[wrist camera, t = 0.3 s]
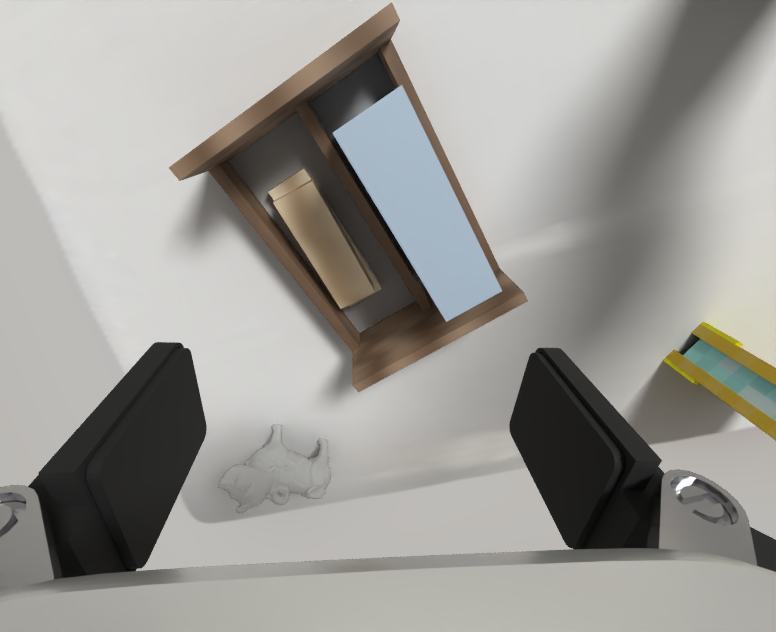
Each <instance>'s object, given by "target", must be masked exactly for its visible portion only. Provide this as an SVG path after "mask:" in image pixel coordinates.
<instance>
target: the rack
mask: <svg viewBox="0 0 776 632" xmlns="http://www.w3.org/2000/svg"><path fill="white" fill-rule="evenodd" d="M399 21H400V19H399V17H398V15H397V13H396V10H395V8H394V6H393V4H392V3H390V4H389V5H388V6H386V7H385V8H384V9H382V10H381V11H379V12H378V13H377V14H375V15H374V16H373V17H371V18H370V19H369V20H367V21H366V22H365V23H363V24H362V25H361V26H359V27H358V28H357V29H355V30H354V31H353V32H351V33H350V34H348V35H347V36H346V37H344V38H343V39H342V40H340V41H339V42H338V43H336V44H335V45H334V46H332V47H331V48H330V49H328V50H327V51H326V52H324V53H323V54H321V55H320V56H319V57H317V58H316V59H315V60H313V61H312V62H311V63H309V64H308V65H307V66H305V67H304V68H303V69H301V70H300V71H299V72H297V73H296V74H295V75H293V76H292V77H290V78H289V79H288V80H286V81H285V82H284V83H282V84H281V85H280V86H278V87H277V88H276V89H274V90H273V91H272V92H270V93H269V94H268V95H266V96H265V97H264V98H262V99H261V100H259V101H258V102H257V103H255V104H254V105H253V106H251V107H250V108H249V109H247V110H246V111H245V112H243V113H242V114H241V115H239V116H238V117H237V118H235V119H234V120H232V121H231V122H230V123H228V124H227V125H226V126H224V127H223V128H222V129H220V130H219V131H218V132H216V133H215V134H214V135H212V136H211V137H210V138H208V139H207V140H206V141H204V142H203V143H201V144H200V145H199V146H197V147H196V148H195V149H193V150H192V151H191V152H189V153H188V154H187V155H185V156H184V157H183V158H181V159H180V160H179V161H177V162H176V163H175V164H173V165H172V166H170V167H169V169H170V170H171V171H172V172H173V174H174V175H175V176H176V177H177V178H178V179H179V181H181V180H184V179H186V178H189V177H192V176H195V175H198V174H201V173H204V172H207V171H209V172H210V173H211V174H212V176H213V177H214V178H215V179H216V181H217V182H218V183H219V184H220V186H221V187H222V188H223V189H224V191H225V192H226V193H227V194H228V196H229V197H230V198H231V199H232V201H233V202H234V203H235V204H236V206H237V207H238V208H239V209H240V211H241V212H242V213H243V215H244V216H245V217H246V218H247V220H248V221H249V222H250V223H251V225H252V226H253V227H254V228H255V230H256V231H257V232H258V233H259V235H260V236H261V237H262V238H263V240H264V241H265V242H266V243H267V245H268V246H269V247H270V248H271V250H272V251H273V252H274V253H275V255H276V256H277V257H278V259H279V260H280V261H281V262H282V264H283V265H284V266H285V267H286V269H287V270H288V271H289V272H290V274H291V275H292V276H293V277H294V279H295V280H296V281H297V282H298V284H299V285H300V286H301V287H302V289H303V290H304V291H305V292H306V294H307V295H308V296H309V297H310V299H311V300H312V301H313V302H314V304H315V305H316V306H317V308H318V309H319V310H320V311H321V313H322V314H323V315H324V316H325V318H326V319H327V320H328V321H329V323H330V324H331V325H332V326H333V328H334V329H335V330H336V331H337V333H338V334H339V335H340V336H341V338H342V339H343V340H344V341H345V343H346V344H347V345H348V346H349V348H350V349H351V350H352V354H353V387H354V388H355V389H356V390H357V391H358V392H360V391H362V390H364V389H365V388H367V387H369V386H371V385H373V384H375V383H377V382H378V381H380V380H382V379H384V378H386V377H388V376H390V375H391V374H393V373H395V372H397V371H399V370H401V369H403V368H404V367H406V366H408V365H410V364H412V363H414V362H416V361H417V360H419V359H421V358H423V357H425V356H427V355H429V354H430V353H432V352H434V351H436V350H438V349H440V348H442V347H443V346H445V345H447V344H449V343H451V342H453V341H455V340H456V339H458V338H460V337H462V336H464V335H466V334H468V333H469V332H471V331H473V330H475V329H477V328H479V327H481V326H482V325H484V324H486V323H488V322H490V321H492V320H494V319H495V318H497V317H499V316H501V315H503V314H505V313H507V312H508V311H510V310H512V309H514V308H516V307H518V306H520V305H521V304H523V303H525V302H527V298H526V296H525V294H524V292H523V291H522V290H521V289H520V288H519V287H518V286H517V285H516V284H515V283H514V282H513V281H512V280H511V279H510V278H509V277H508V276H507V275H506V274H505V273H504V272H503V271H502V270H501V269H500V268H499V266H498V264H497V262H496V260H495V258H494V256H493V254H492V251H491V249H490V247H489V245H488V243H487V241H486V239H485V237H484V235H483V232H482V230H481V228H480V226H479V224H478V222H477V220H476V218H475V216H474V214H473V211H472V209H471V207H470V205H469V203H468V201H467V199H466V197H465V195H464V192H463V190H462V188H461V186H460V184H459V182H458V180H457V178H456V176H455V173H454V171H453V169H452V167H451V165H450V163H449V161H448V159H447V157H446V155H445V152H444V150H443V148H442V146H441V144H440V142H439V140H438V138H437V136H436V133H435V131H434V129H433V127H432V125H431V123H430V121H429V119H428V117H427V114H426V112H425V110H424V108H423V106H422V104H421V102H420V100H419V98H418V96H417V93H416V91H415V89H414V87H413V85H412V83H411V81H410V79H409V77H408V74H407V72H406V70H405V68H404V66H403V64H402V62H401V60H400V58H399V55H398V53H397V51H396V49H395V47H394V45H393V43H392V41H391V38H392V36H393V34H394V32H395V30H396V28H397V26H398V23H399ZM376 54H378V56H379V58H380V60H381V62H382V64H383V66H384V68H385V70H386V72H387V74H388V76H389V78H390V80H391V82H392V84H393V86H394V88H395V89H396V88H398V87H399V86H401V85H402V86H403V88H404V90H405V92H406V94H407V96H408V98H409V100H410V102H411V105H412V107H413V109H414V111H415V113H416V115H417V117H418V119H419V121H420V123H421V125H422V127H423V129H424V131H425V133H426V135H427V137H428V139H429V141H430V144H431V146H432V148H433V150H434V152H435V154H436V156H437V158H438V160H439V162H440V164H441V166H442V168H443V170H444V172H445V174H446V176H447V178H448V181H449V183H450V185H451V187H452V189H453V191H454V193H455V195H456V197H457V199H458V201H459V203H460V205H461V207H462V209H463V211H464V213H465V215H466V217H467V220H468V222H469V224H470V226H471V228H472V230H473V232H474V234H475V236H476V238H477V240H478V242H479V244H480V246H481V248H482V250H483V252H484V254H485V256H486V259H487V261H488V263H489V265H490V267H491V269H492V271H493V273H494V275H495V277H496V279H497V281H498V283H499V285H500V287H501V289H502V292H500V293H498V294H496V295H494V296H493V297H491V298H489V299H487V300H485V301H483V302H482V303H480V304H478V305H476V306H474V307H473V308H471V309H469V310H467V311H465V312H463V313H462V314H460V315H458V316H456V317H454V318H453V319H451V320H449V321H447V322H446V321H445V319H444V317H443V316H442V314H441V312H440V311H439V309H438V307H437V306H436V304H435V302H434V301H433V299H432V297H431V296H430V294H428V295H426V294H425V292H424V291H423V289H422V287H421V286H420V284H419V283H418V281H417V279H416V278H415V276H414V274H413V273H412V271H411V269H410V268H409V266H408V265H407V263H406V261H405V260H404V258H403V256H402V255H401V253H400V251H399V250H398V248H397V246H396V245H395V243H394V242H393V240H392V238H391V237H390V235H389V233H388V232H387V230H386V228H385V227H384V225H383V224H382V222H381V220H380V219H379V217H378V215H377V214H376V212H375V210H374V209H373V207H372V205H371V204H370V202H369V201H368V199H367V197H366V196H365V194H364V192H363V191H362V189H361V187H360V186H359V184H358V183H357V181H356V179H355V178H354V176H353V174H352V173H351V171H350V169H349V168H348V166H347V164H346V163H345V161H344V160H343V158H342V156H341V155H340V153H339V151H338V150H337V148H336V146H335V145H334V143H333V142H332V140H331V138H330V137H329V135H328V133H327V132H326V130H325V128H324V127H323V125H322V123H321V122H320V120H319V119H318V117H317V115H316V114H315V112H314V110H313V109H312V107H311V105H310V104H309V102H311V101H312V100H313V99H315V98H316V97H318V96H319V95H320V94H322V93H323V92H325V91H326V90H327V89H329V88H330V87H332V86H333V85H334V84H336V83H337V82H338V81H340V80H341V79H343V78H344V77H345V76H347V75H348V74H350V73H351V72H352V71H354V70H355V69H357V68H358V67H359V66H361V65H362V64H363V63H365V62H366V61H368V60H369V59H370V58H372V57H373V56H375V55H376ZM295 112H298V114H299V116H300V117H301V119H302V120H303V122H304V124H305V125H306V127H307V128H308V130H309V131H310V133H311V135H312V136H313V138H314V139H315V141H316V143H317V144H318V146H319V147H320V149H321V150H322V152H323V154H324V155H325V157H326V158H327V160H328V162H329V163H330V165H331V166H332V168H333V170H334V171H335V173H336V174H337V176H338V177H339V179H340V181H341V182H342V184H343V185H344V187H345V189H346V190H347V192H348V193H349V195H350V196H351V198H352V200H353V201H354V203H355V204H356V206H357V208H358V209H359V211H360V212H361V214H362V215H363V217H364V219H365V220H366V222H367V223H368V225H369V227H370V228H371V230H372V231H373V233H374V235H375V236H376V238H377V239H378V241H379V242H380V244H381V246H382V247H383V249H384V250H385V252H386V254H387V255H388V257H389V258H390V260H391V261H392V263H393V265H394V266H395V268H396V269H397V271H398V273H399V274H400V276H401V277H402V279H403V280H404V282H405V284H406V285H407V287H408V288H409V290H410V292H411V293H412V295H413V296H414V298H415V300H416V301H415V302H414V303H412V304H410V305H408V306H407V307H405V308H403V309H401V310H400V311H398V312H396V313H394V314H393V315H391V316H389V317H387V318H386V319H384V320H382V321H380V322H379V323H377V324H375V325H373V326H372V327H370V328H368V329H366V330H365V331H363V332H361V333H359V332H358V331H357V329H356V328H355V327H354V326H353V324H352V323H351V322H350V320H349V319H348V318H347V316H346V315H345V314H344V312H343V311H342V310H341V309H340V307H339V306H338V304H337V303H336V302H335V301H334V299H333V298H332V297H331V295H330V294H329V293H328V291H327V290H326V289H325V287H324V286H323V285H322V283H321V282H320V281H319V279H318V278H317V277H316V276H315V274H314V273H313V272H312V270H311V269H310V268H309V266H308V265H307V264H306V262H305V261H304V260H303V258H302V257H301V256H300V254H299V253H298V252H297V251H296V249H295V248H294V247H293V245H292V244H291V243H290V241H289V240H288V239H287V237H286V236H285V235H284V233H283V232H282V231H281V229H280V228H279V227H278V226H277V224H276V223H275V222H274V220H273V219H272V218H271V216H270V215H269V214H268V212H267V211H266V210H265V208H264V207H263V206H262V204H261V203H260V202H259V201H258V199H257V198H256V197H255V195H254V194H253V193H252V191H251V190H250V189H249V187H248V186H247V185H246V183H245V182H244V181H243V179H242V178H241V177H240V176H239V174H238V173H237V172H236V170H235V169H234V168H233V166H232V165H231V164H230V162H229V160H230V159H231V158H233V157H234V156H236V155H237V154H238V153H240V152H241V151H243V150H244V149H245V148H247V147H248V146H250V145H251V144H252V143H254V142H255V141H256V140H258V139H259V138H261V137H262V136H263V135H265V134H266V133H268V132H269V131H270V130H272V129H273V128H275V127H276V126H277V125H279V124H280V123H281V122H283V121H284V120H286V119H287V118H288V117H290V116H291V115H293V114H294V113H295Z"/></svg>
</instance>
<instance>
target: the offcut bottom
mask: <svg viewBox="0 0 776 632" xmlns="http://www.w3.org/2000/svg"><path fill="white" fill-rule="evenodd" d="M311 179H313V178H312V176H311V175H310V173H309V172H308V170H307V169H306V167H304V168H303V169H301V170H300V171H298V172H297V173H295V174H294V175H292V176H291V177H289V178H288V179H286V180H285V181H283V182H282V183H280V184H279V185H277V186H276V187H274V188H272V189H271V190H270V191H269V192H268V193H269V194H270V196H271V197H272V199H273V200H274V201H275V200H276V199H277V198H279V197H281V196H282V195H284V194H286V193H288V192H290V191H292V190H293V189H295V188H297V187H299V186H301V185H302V184H304V183H306V182H308V181H310V180H311ZM327 202H328V201H327ZM328 204H329V203H328ZM329 205H330V204H329ZM330 207H331V206H330ZM331 209H332V207H331ZM332 211H333V213H334V214H335V212H334V210H333V209H332ZM335 216H336V218H337V220H338V221H339V223H340V225H341V227H342V229H343V230H344V232H345V234H346V236H347V237H348V239H349V241H350V243H351V245H352V246H353V248H354V250H355V252H356V253H357V255H358V257H359V259H360V261H361V262H362V264H363V266H364V268H365V269H366V271H367V273H368V275H369V277H370V278H371V280H372V282H373V284H374V288H375V292H374V293H376V292H377V291H379V290H381V289H382V287H381V283H380V282H379V280H378V279H377V277H376V276H375V274H374V272H373V271H372V269H371V268H370V266H369V265H368V263H367V262H366V260H365V258H364V257H363V255H362V254H361V252H360V251H359V249H358V248H357V246H356V245H355V243H354V241H353V240H352V238H351V237H350V235H349V234H348V232H347V231H346V229H345V228H344V226H343V224H342V223H341V221H340V220H339V218H338V217H337V215H336V214H335ZM374 293H372V294H374ZM372 294H370V295H372ZM370 295H368V296H366V297H364V298H362V299H360V300H358V301H356V302H354V303H352V304H350V305H349V306H350V307H351V306H353V305H355V304H356V303H358V302H360V301H362V300H363V299H365V298H367V297H369V296H370Z"/></svg>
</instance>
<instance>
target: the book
mask: <svg viewBox="0 0 776 632" xmlns="http://www.w3.org/2000/svg"><path fill="white" fill-rule="evenodd" d="M692 334H694V335H695V336H697V337H698V338H700V340H699V341H698V342H696V343H695V344H694V345H693V346H692V347H691V348H690V349H689V350H688V351H687V352H686V353H685V354H684V355H682V354H680V353H678V352H677V351H675V350H673V351H672V352H671V353H670V354H669V355H668V356H667V357H666V358H665V359H664V360H663V361H664V362H665V363H667V364H668V365H669V366H671V367H672V368H673V369H675V370H676V371H677V372H679V373H680V374H681V375H682V376H684V377H685V378H686V379H688V380H689V381H690V382H692V383H693V384H695V385H696V386H697V385H698V384H701V385H702V386H704V387H705V388H706V389H708V390H709V391H710V392H712V393H713V394H714V395H716V396H717V397H718V398H720V399H721V400H722V401H724V402H725V403H726V404H728V405H729V406H730V407H732V408H733V409H734V410H736V411H737V412H738V413H740V414H741V415H742V416H744V417H745V418H746V419H748V420H749V421H750V422H752V423H753V424H754V425H756V426H757V427H758V428H760V429H761V430H762V431H764V432H765V433H766V434H768V435H769V436H770V437H772V438H773V439H774V440H776V368H775V367H773V366H771V365H770V364H768V363H766V362H764V361H763V360H761V359H759V358H757V357H756V356H754V355H752V354H751V353H749V352H747V351H745V350H744V349H742V348H740V347H741V346H743V344H742V343H740V342H739V341H737V340H735V339H733V338H732V337H730V336H728V335H726V334H725V333H723V332H721V331H719V330H718V329H716V328H714V327H712V326H711V325H709V324H707V323H705V322H703V323H702V324H701V325H700V326H699V327H698V328H696V329H695V330H694V331H693V332H692Z"/></svg>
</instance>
